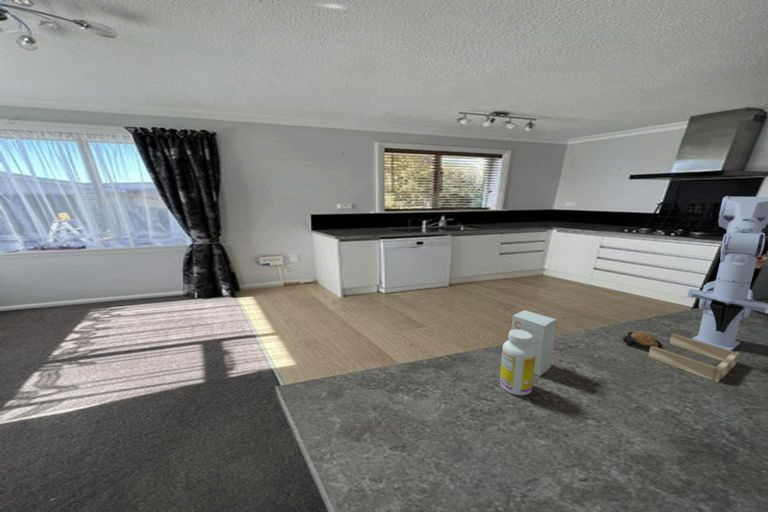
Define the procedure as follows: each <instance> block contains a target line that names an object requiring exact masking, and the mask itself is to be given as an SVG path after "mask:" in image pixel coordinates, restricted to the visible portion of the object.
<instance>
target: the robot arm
mask: <svg viewBox="0 0 768 512" xmlns="http://www.w3.org/2000/svg"><path fill="white" fill-rule="evenodd" d="M718 215H719V217H718V222H717V223H718V226H719V227H721V228H723V229H724V230H726V233H724V234H723V238H722V241H721V246H720V257H719V258H720V260H719V261H720V262H719V264H718V265H719V266H718V270H717V274H716V279H715V280H713V281H710V282H707V283H705V285H703V289H702V290H700V289H699V290H698V289H694V288H691V289H689V290H688V292H687V298H692V299H693V298H695V299H699V303H698V308H699V309H700V310H702V318H701V322H700V326H699V331H698V334H697V335H695V336H694V337H692V339H693V340H696V341H700V342H703V343H706V344H710V345H713V346H716V347H720V348H723V349H727V350H730V351H733V350H734V349H735V348H737V347H738V345H740V343H741V342H740V341H737V340H736V337H737V335H738V334H737V333H738V331H739V326H740V322H741V320H742V318H744V319H745V318H748V317H750V314H751V310H753V311H757V312H762V313H765V314H768V303H765V302H763V301H762V302H761V301H758V300H754V299H753V296H754V292H753V291H752V289H751V283H752V279H753V276H754V272H755V269H756V265H757V262H758V261H757V260H758V258H760V256H761V255H762V253H763V251H764V247H765V244H766V243H765V242H766V234H765V233H764V232H762V231H763V229H765V228H766V226H767V225H768V196H729V195H727V196H726V195H725V196H724V197H723V198H722V201H721V205H720V210H719V214H718Z"/></svg>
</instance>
